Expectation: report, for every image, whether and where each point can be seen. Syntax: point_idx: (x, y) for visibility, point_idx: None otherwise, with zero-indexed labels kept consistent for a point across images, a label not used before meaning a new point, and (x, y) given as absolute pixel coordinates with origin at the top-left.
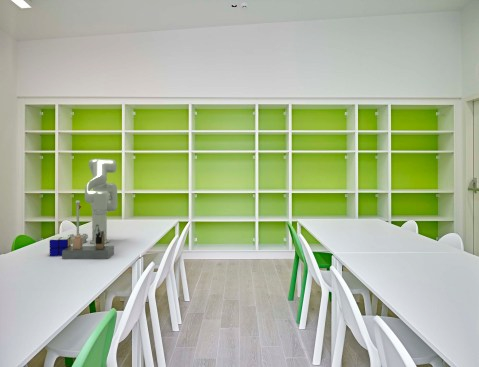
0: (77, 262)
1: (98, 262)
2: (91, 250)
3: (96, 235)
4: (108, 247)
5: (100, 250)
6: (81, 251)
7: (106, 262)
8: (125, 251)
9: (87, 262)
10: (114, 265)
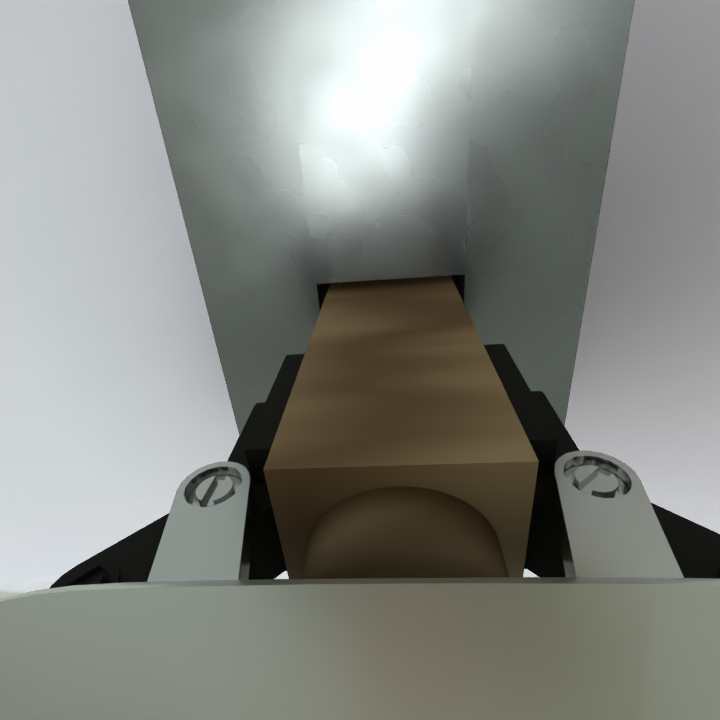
0: (18, 118)
1: (117, 380)
2: (197, 270)
3: (120, 552)
4: None
5: (233, 406)
6: (151, 57)
7: (144, 450)
8: (646, 489)
9: (72, 261)
10: (77, 532)
